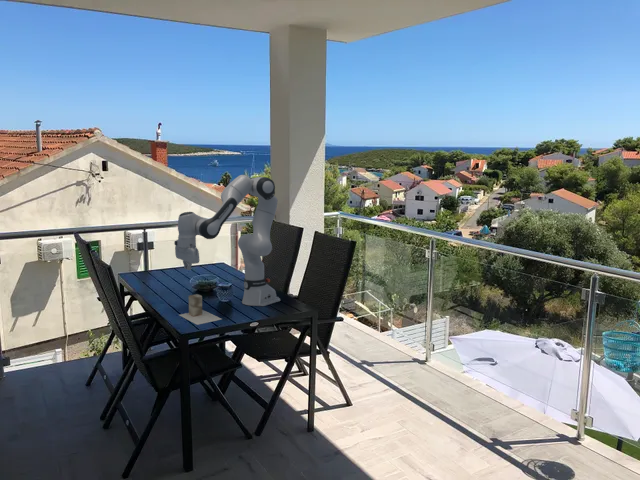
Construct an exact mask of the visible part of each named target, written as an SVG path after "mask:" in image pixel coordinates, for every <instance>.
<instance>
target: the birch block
mask: <svg viewBox="0 0 640 480" xmlns="http://www.w3.org/2000/svg"><path fill="white" fill-rule="evenodd" d="M202 310H203V296H202V295H201V294H198V293H196V294H190V295H188V313H189V315H191V316H193V317H195V316H199V315H202Z"/></svg>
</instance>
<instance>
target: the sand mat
mask: <svg viewBox="0 0 640 480" xmlns="http://www.w3.org/2000/svg"><path fill="white" fill-rule="evenodd" d="M179 317H182V318H184V319H185V320H187V321H189V322H191V323H193V324H195V325H197V326H199V325H203V324H208V323H211V322H217V321H220V320H223V318H220V317H219V316H217V315H215V314H212V313H210V312H208V311H206V310H204V309H202V315H199V316H195V317H193V316H191V315H189V312H185V313H181V314H179Z"/></svg>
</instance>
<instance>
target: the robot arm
mask: <svg viewBox="0 0 640 480" xmlns="http://www.w3.org/2000/svg"><path fill="white" fill-rule="evenodd" d="M275 184H276V183H275V182H274V181H273V179H271V178H269V177H266V176H257V177H252V178H250V177H249V176H248V175H245V174H240V175H237V177H235V178H234V179H233V180H232V181H230V182H229V183H228V184H227V186H226V187H225V188H224V189H223V190H222V192H221V194H220V199H221V206H220V208H219V209H218V210H217V211H216V212H215V213H214V215H213V216H212V217H210V218H206V217H203V216H200V215H198V214H196V213H195V212H193V211H186V212H181V213H180V214H179V215H178V219H177V220H178V221H177V231H178V237H177V239H176V240H174V243H173V244H174V247H175V248H174V249H175V250H174V251H175V252H174V253H175V257H176V259H177V260H182V264H183V267H184V269H185V270H187V271H191V270H192V266H193V265H194V264H199V263H200V252H199V249H198V247H197V236H199V237H203V238H204V239H206V240H213V239H215V238H217V237H218V235H219V233H220V232H221V229H222V226H224V224H225V222H226V221H227V220H228V219H229V217H230V216H231V215H232V214H233V213H234V211H235V209H236V208H237V207H238V206H239V204H240V203H241V202H242V200H244V199H245V197H246V196H247V195H250V196H251V197H256V198H257V202H258V204H257V205H256V208H255V212H254V215H253V218H252V221H251V224H252V226H253V227H252V229H253V230H252V234H251V233H245V234H242V235H241V236H239V237H238V240H237V246H238V248H239V250H240V252H241V255H242V259H243V264H244V278H243V287H244V290H243V291H244V292H243V296H242V300H241V303H242V304H243V305H246V306H252V307H253V306H255V307H256V306H257V307H265V306H268V305H272V304H275V303H278V302H280V301H281V298H280V297H279V296H277V292H276V289H274V288H273V287H272V286H270V284H268V283H270V282H271V279H270V278H268V277H267V278H265V264H264V262H263V260H262V258H261V257H266V256H268V255H269V254H271V252H272V250H273V244H272V241H271V229H272V226H273V225H272V224H273V221H274V219H275V215H276V212H277V207H278V200H279V199H278V198H277V196H275V194H276V191H275V190H276V187H275Z"/></svg>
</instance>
